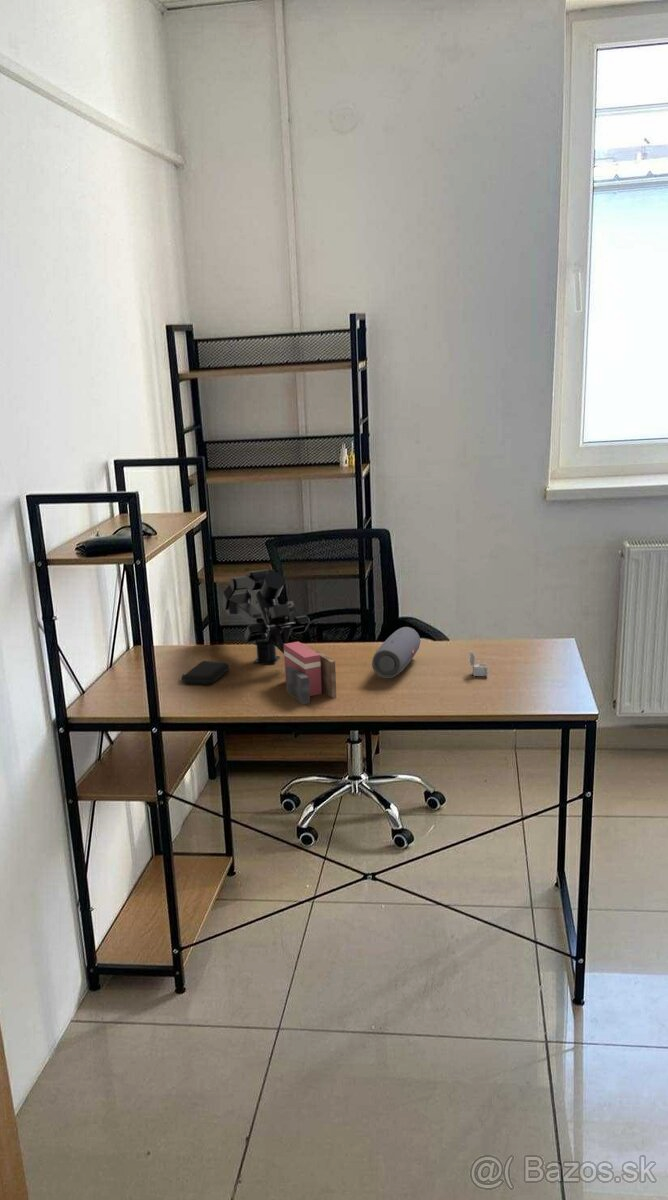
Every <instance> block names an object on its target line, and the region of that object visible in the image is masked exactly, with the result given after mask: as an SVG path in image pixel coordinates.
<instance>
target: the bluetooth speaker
mask: <svg viewBox="0 0 668 1200" xmlns="http://www.w3.org/2000/svg"><path fill="white" fill-rule="evenodd" d="M420 645H421V637H420V635H419V633H418V632H417V631H416V630H415V629H414V628H412V627H409V626H403V627H399V628H398V629H397V630H395V631H394V632H393V633H392V634H390V635H389V636H388V637H387V638H386V640H385V641H383V642H382V644H381V645H380V647H378V649H377V650H376V652H375V653H374V656H373V657H372V660H371V665H372V669H373V671H374V672H375V673H376V675H377V676H379V677H380V678H384V679H392V678H395V677H396V676H398V675H399V674H401V672H402V671H403V670H404V669H405V668H406V667H407V666H408V665H409V663H410V662H412V660H413V658H414V657H415V656H416V653H417V652H418V651H419V649H420Z"/></svg>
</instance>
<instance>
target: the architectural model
mask: <svg viewBox="0 0 668 1200" xmlns="http://www.w3.org/2000/svg"><path fill="white" fill-rule="evenodd" d="M482 661H486V658H485V659H484V658H482V659H479V658H478V664H475V653H474V651H473V650H471V651H470V653H469V664H470V666H472V675H474V676H486V677H488V672H489V671H488V667H487V663H483V662H482ZM474 676H473V677H474ZM486 677H485V678H486Z"/></svg>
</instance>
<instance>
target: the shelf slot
mask: <svg viewBox="0 0 668 1200" xmlns="http://www.w3.org/2000/svg"><path fill="white" fill-rule="evenodd" d="M314 651H315V652H316V653H318V654H320V663H321V690H322V693H325V694H326V695H327V696H329V697H330V698H332V699H334V698H337V677H336V661H335V660H334V659H332V658H331V657H328V656H327V655H326V654H324V653H322V652H321V651H319V650H314ZM286 681H287V682H286ZM285 682H286V693H288V694H289V695H290V696H292V697H293V698H294V699H295V700H297V701H298V702H299V703H300V704H302V705H305V704H310V703H311V696H310V691H309V677H308V676H306V675H305V674H303V673H302V672H300V671H299V670H297V669H296V668H295V667H293V666H291V667H286V679H285Z"/></svg>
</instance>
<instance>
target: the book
mask: <svg viewBox="0 0 668 1200" xmlns="http://www.w3.org/2000/svg"><path fill="white" fill-rule="evenodd" d="M315 651H316V650H313V649H311V648H310V647H308V646H307V645H305V644H304V643H302V642H300V641H298V640H297V641H293V642H288V643H287V644H284V654H283V655H284V657H283V658H284V674H285V675H284V676H285V677H284V678H285V682H286V683H287V681H286V667H291V666H293V667H295V668H296V669H297V670H299V671H300V672H302V673H303V674H305V675H306V676H308V677H309V691H310V697H312V696H318V695H322V693H323V691H322V690H321V663H320V654H318V653H316V652H315Z"/></svg>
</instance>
